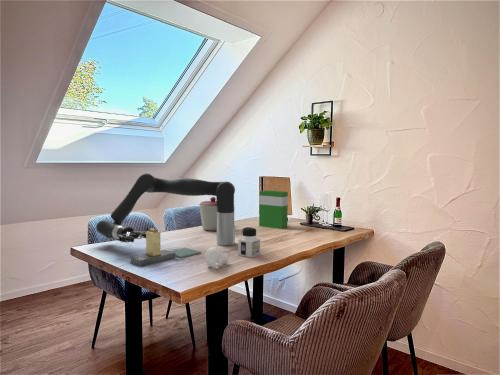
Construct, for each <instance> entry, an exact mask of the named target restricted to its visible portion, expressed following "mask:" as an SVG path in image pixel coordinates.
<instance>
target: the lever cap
mask: <svg viewBox="0 0 500 375" xmlns="http://www.w3.org/2000/svg"><path fill="white" fill-rule="evenodd" d="M145 231H146V230H145ZM145 242H146V243H145V246H146V247H145V251H146V253H145V254H146V255H147V256H150V257H156V256H160V255H161V251H162V250H161V247H162V245H161V231H160V230H158V229H156V228H151V227H150V228H148V230H147V231H146V239H145Z"/></svg>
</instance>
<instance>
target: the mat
mask: <svg viewBox="0 0 500 375" xmlns="http://www.w3.org/2000/svg"><path fill="white" fill-rule="evenodd" d="M170 251H171V252H175V258H179V259H184V258H187V257H192V256H196V255H200V254H202V251H199V250H196V249H193V248H187V247H182V248H177V249H172V250H170Z"/></svg>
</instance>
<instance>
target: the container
mask: <svg viewBox="0 0 500 375" xmlns="http://www.w3.org/2000/svg"><path fill="white" fill-rule="evenodd" d="M237 243H238V245H237V246H238V247H237V248H238V249H237V251H238V252H237V253H238V254H237V255H238V256H240V257H241V256H242V257H246V258H251V257H252V258H254V257H256V255H257V256H259V255H260V254H261V238H259V237H257V229H256V227H253V226H246V227H244V228H242V237H241V238H238V242H237Z"/></svg>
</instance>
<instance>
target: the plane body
mask: <svg viewBox="0 0 500 375" xmlns="http://www.w3.org/2000/svg"><path fill="white" fill-rule="evenodd" d="M171 251H172V250H167V249H163V250H161V255H160V256H156V257H150V256H147V255H146V253H143V254H138V255H134V256H130V257H129V258H130V259H129V260H130V262H129V263H130V264H133V265H135V266H138V267H144V266H149V265H152V264H157V263H160V262H165V261H168V260H172V259H176V257H175V252H171Z"/></svg>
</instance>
